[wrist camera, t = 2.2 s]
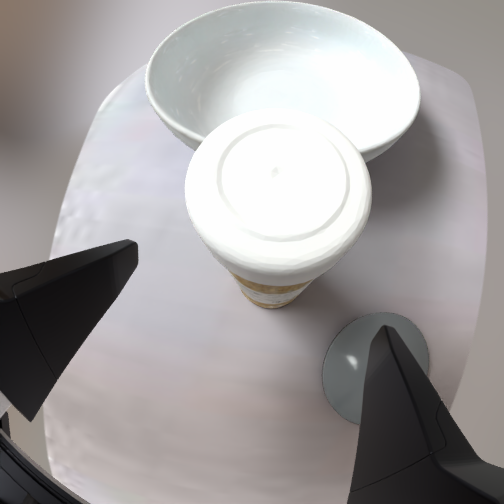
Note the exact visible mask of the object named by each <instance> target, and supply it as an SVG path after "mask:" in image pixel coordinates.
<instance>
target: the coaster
mask: <svg viewBox="0 0 504 504" xmlns="http://www.w3.org/2000/svg"><path fill="white" fill-rule="evenodd" d="M382 325H389V326H392V327H394V328H395V329H396V331H397V332H398V333H399V335H400V336H401V338H402V339H403V341H404V342H405V344H406V345H407V347H408V348H409V350H410V351H411V353H412V354H413V356H414V357H415V359H416V360H417V362H418V363H419V365H420V366H421V368H422V369H423V371H424V373H425V374H426V376H427V373H428V366H429V355H428V348H427V345H426V342H425V339H424V337H423V335H422V333H421V332H420V330H419V329H418V328H417V327H416V325H414V324H413V323H412V322H411V321H410V320H408V319H407V318H405V317H403V316H401V315H397V314H394V313H375V314H369V315H366V316H363V317H360V318H358V319H356V320H354V321H353V322H351V323H349V324H348V325H347V326H346V327H344V328H343V329H342V330H341V331H340V332H339V333H338V335H337V336H336V337H335V338H334V340H333V341H332V343H331V345H330V346H329V348H328V351H327V353H326V356H325V359H324V362H323V367H322V384H323V389H324V392H325V395H326V398H327V399H328V401H329V403H330V404H331V406H332V407H333V408H334V409H335V411H336V412H337V413H338V414H339V415H341V416H342V417H343V418H345V419H346V420H348V421H351V422H353V423H356V424H360V422H361V412H362V401H363V388H364V380H365V374H366V368H367V362H368V355H369V349H370V344H371V341H372V339H373V338H374V336H375V335H376V334H377V332H378V331H379V329H380V328H381V326H382Z"/></svg>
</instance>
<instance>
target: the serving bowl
mask: <svg viewBox="0 0 504 504" xmlns="http://www.w3.org/2000/svg"><path fill="white" fill-rule="evenodd" d="M145 89H146V94H147V97H148V100H149V102H150V104H151V106H152V108H153V109H154V111H155V112H156V114H157V115H158V116H159V118H160V119H161V120H162V122H163V123H164V124H165V125H166V127H167V128H168V129H169V130H170V131H171V132H172V133H173V134H174V135H175V136H176V137H177V138H178V139H179V140H181V141H182V142H183V143H184V144H185V145H187V146H188V147H190V148H191V149H193V150H194V151H196V150H197V149H198V147H199V146H200V145H201V143H202V142H203V141H204V140H205V138H206V137H207V136H208V135H209V134H210V133H211V132H213V131H214V130H215V129H216V128H218V127H219V126H220V125H222V124H223V123H225V122H226V121H228V120H230V119H232V118H234V117H237V116H239V115H242V114H245V113H248V112H251V111H256V110H262V109H270V108H281V109H292V110H297V111H302V112H305V113H309V114H311V115H314V116H317V117H319V118H321V119H323V120H325V121H327V122H329V123H330V124H332V125H333V126H335V127H336V128H338V129H339V130H340V131H341V132H342V133H344V134H345V135H346V136H347V137H348V138H349V139H350V140H351V141H352V143H353V144H354V145H355V146H356V148H357V149H358V151H359V152H360V154H361V156H362V157H363V159H364V161H365V163H366V162H368V161H370V160H372V159H374V158H375V157H377V156H379V155H380V154H382V153H383V152H385V151H386V150H387V149H389V148H390V147H391V146H392V145H393V144H394V143H395V142H397V141H398V140H399V139H400V138H401V137H402V135H403V134H404V133H405V132H406V131H407V130H408V129H409V128H410V126H411V125H412V124H413V122H414V120H415V118H416V116H417V114H418V111H419V108H420V102H421V91H420V85H419V82H418V78H417V76H416V73H415V71H414V69H413V67H412V66H411V64H410V63H409V61H408V60H407V58H406V57H405V56H404V54H403V53H402V52H401V51H400V50H399V49H398V48H397V47H396V46H395V45H394V44H393V43H392V42H391V41H390V40H389V39H388V38H387V37H385V36H384V35H383V34H381V33H380V32H378V31H377V30H375V29H374V28H372V27H371V26H369V25H367V24H365V23H364V22H362V21H360V20H358V19H355V18H353V17H351V16H349V15H346V14H344V13H341V12H338V11H335V10H331V9H329V8H325V7H321V6H316V5H311V4H306V3H299V2H287V1H260V2H249V3H243V4H237V5H232V6H228V7H224V8H220V9H217V10H214V11H211V12H208V13H206V14H203V15H202V16H199V17H197V18H195V19H193V20H191V21H189V22H187V23H186V24H184V25H182V26H181V27H179V28H178V29H176V30H175V31H174V32H173V33H171V34H170V35H169V36H168V37H167V38H165V39H164V41H163V42H162V43H161V44H160V45H159V46H158V48H157V49H156V50H155V52H154V53H153V55H152V57H151V59H150V61H149V63H148V66H147V69H146V73H145Z"/></svg>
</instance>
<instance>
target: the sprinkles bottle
mask: <svg viewBox="0 0 504 504" xmlns="http://www.w3.org/2000/svg"><path fill="white" fill-rule="evenodd" d="M185 199H186V205H187V210H188V213H189V216H190V219H191V222H192V224H193V226H194V228H195V229H196V231H197V233H198V234H199V236H200V238H201V239H202V241H203V242H204V244H205V245H206V247H207V248H208V249H209V251H210V252H211V253H212V255H213V256H214V257H215V258H216V259H217V260H218V261H219V262H220V263H221V264H222V265H223V266H224V267H225V268H227V269H228V271H229V272H230V274H231V275H232V276H233V278H234V279H235V281H236V282H237V284H238V285H239V287H240V289H241V291H242V293H243V294H244V295H245V297H246V298H247V299H248V300H249V301H251V302H252V303H254V304H256V305H258V306H260V307H264V308H278V307H282V306H284V305H286V304H289V303H290V302H292V301H293V300H294V299H295V298H296V297H297V296H298V295H299V294H300V293H301V292H302V291H303V290H304V289H305V288H306V287H307V286H308V285H309V284H310V283H311V282H312V281H313V280H314V279H315V278H316V277H318V276H320V275H322V274H324V273H325V272H326V271H328V270H329V269H331V268H332V267H333V266H334V265H335V264H336V263H337V262H339V260H340V259H341V258H342V257H343V256H344V255H345V254H346V253H347V252H348V251H349V250H350V248H351V247H352V246H353V245H354V244H355V242H356V241H357V240H358V238H359V237H360V235H361V233H362V232H363V230H364V228H365V226H366V223H367V221H368V217H369V214H370V210H371V203H372V186H371V179H370V175H369V172H368V169H367V166H366V164H365V161H364V159H363V157H362V156H361V154H360V152H359V151H358V149H357V148H356V146H355V145H354V144H353V143H352V141H351V140H350V139H349V138H348V137H347V136H346V135H345V134H344V133H342V132H341V131H340V130H339V129H338V128H336V127H335V126H333V125H332V124H330V123H329V122H327V121H325V120H323V119H321V118H319V117H317V116H314V115H311V114H309V113H305V112H302V111H297V110H292V109H281V108H270V109H262V110H256V111H251V112H248V113H245V114H242V115H239V116H237V117H234V118H232V119H230V120H228V121H226V122H225V123H223V124H222V125H220V126H219V127H218V128H216V129H215V130H214V131H213V132H211V133H210V134H209V135H208V136H207V137H206V138H205V140H204V141H203V142H202V143H201V145H200V146H199V147H198V149H197V150H196V152H195V154H194V156H193V158H192V160H191V162H190V165H189V168H188V172H187V176H186V181H185Z"/></svg>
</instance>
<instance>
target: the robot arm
mask: <svg viewBox="0 0 504 504" xmlns="http://www.w3.org/2000/svg"><path fill="white" fill-rule="evenodd" d="M137 265H138V244H137V243H136V242H135V241H132V240H129V239H126V240H122V241H118V242H114V243H110V244H106V245H103V246H99V247H95V248H91V249H88V250H84V251H80V252H77V253H73V254H70V255H66V256H63V257H59V258H56V259H52V260H49V261H47V262H42V263H39V264H35V265H32V266H28V267H25V268H20V269H16V270H12V271H8V272H4V273H0V504H90V503H88V502H87V501H85V500H84V499H82V498H81V497H79V496H78V495H76V494H75V493H74V492H72V491H71V490H69V489H68V488H67V487H65V486H64V485H63V484H61V483H60V482H59V481H57V480H56V479H55V478H53V477H52V476H51V475H50V474H48V473H47V472H46V471H45V470H43V469H42V468H41V467H40V466H39V465H38V464H36V463H35V462H34V461H33V460H32V459H31V458H30V457H29V456H27V455H26V454H25V453H24V452H23V451H22V450H21V449H20V448H19V447H18V446H17V445H16V444H15V443H14V442H13V441H12V440H11V437H10V429H9V418H8V413H7V412H6V410H7V409H8V408H9V406H10V405H11V404H12V405H13V406H14V407H15V408H16V409H17V410H18V411H19V412H20V413H21V414H22V415H23V416H24V417H25V418H26V419H27V420H28V421H30V422H31V421H32V420H33V419H34V417H35V415H36V414H37V412H38V410H39V409H40V407H41V406H42V404H43V402H44V401H45V399H46V398H47V396H48V394H49V393H50V391H51V390H52V388H53V387H54V385H55V383H56V382H57V380H58V379H59V377H60V376H61V374H62V373H63V371H64V370H65V368H66V367H67V365H68V364H69V362H70V361H71V359H72V358H73V357H74V355H75V354H76V352H77V351H78V349H79V348H80V347H81V345H82V344H83V342H84V341H85V340H86V338H87V337H88V335H89V334H90V333H91V331H92V330H93V329H94V327H95V326H96V325H97V323H98V322H99V321H100V319H101V318H102V317H103V315H104V314H105V313H106V311H107V310H108V309H109V307H110V306H111V305H112V304H113V302H114V301H115V300H116V298H117V297H118V295H119V294H120V292H121V291H122V289H123V288H124V286H125V284H126V283H127V281H128V280H129V278H130V277H131V275H132V274H133V272H134V270H135V269H136V267H137ZM347 504H504V468H501V467H498V466H495V465H492V464H489V463H487V462H485V461H483V460H482V459H481V458H480V457H478V455H477V454H476V453H475V451H474V450H473V448H472V447H471V445H470V444H469V442H468V441H467V439H466V438H465V436H464V435H463V433H462V432H461V430H460V429H459V427H458V426H457V424H456V423H455V421H454V420H453V418H452V417H451V415H450V413H449V411H448V410H447V408H446V407H445V405H444V403H443V401H441V398H440V397H439V395H438V393H437V392H436V390H435V388H434V387H433V385H432V384H431V382H430V380H429V379H428V377H427V376H426V374H425V373H424V371H423V369H422V368H421V366H420V365H419V363H418V362H417V360H416V359H415V357H414V356H413V354H412V353H411V351H410V350H409V348H408V347H407V345H406V344H405V342H404V341H403V339H402V338H401V336H400V335H399V333H398V332H397V331H396V329H395V328H394V327H392V326H389V325H382V326H381V328H380V329H379V331H378V332H377V334H376V335H375V336H374V338H373V339H372V341H371V344H370V349H369V355H368V362H367V368H366V374H365V380H364V388H363V401H362V412H361V422H360V430H359V438H358V446H357V453H356V459H355V465H354V471H353V477H352V482H351V487H350V493H349V496H348V501H347Z"/></svg>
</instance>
